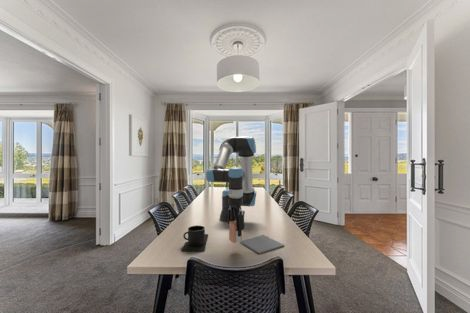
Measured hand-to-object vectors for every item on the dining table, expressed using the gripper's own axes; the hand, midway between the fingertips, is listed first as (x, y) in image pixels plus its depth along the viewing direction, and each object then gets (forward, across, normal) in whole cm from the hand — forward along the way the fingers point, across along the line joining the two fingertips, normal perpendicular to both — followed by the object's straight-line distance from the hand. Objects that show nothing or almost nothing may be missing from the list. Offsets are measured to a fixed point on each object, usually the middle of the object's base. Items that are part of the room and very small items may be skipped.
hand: (235, 239), depth 120 cm
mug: (+6, -20, -15) cm, 26 cm away
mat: (+6, +1, +17) cm, 18 cm away
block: (0, 0, 0) cm, 0 cm away
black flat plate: (+6, -22, -15) cm, 27 cm away
